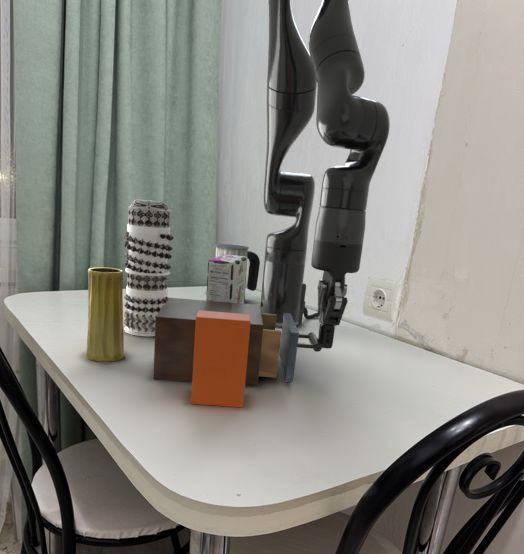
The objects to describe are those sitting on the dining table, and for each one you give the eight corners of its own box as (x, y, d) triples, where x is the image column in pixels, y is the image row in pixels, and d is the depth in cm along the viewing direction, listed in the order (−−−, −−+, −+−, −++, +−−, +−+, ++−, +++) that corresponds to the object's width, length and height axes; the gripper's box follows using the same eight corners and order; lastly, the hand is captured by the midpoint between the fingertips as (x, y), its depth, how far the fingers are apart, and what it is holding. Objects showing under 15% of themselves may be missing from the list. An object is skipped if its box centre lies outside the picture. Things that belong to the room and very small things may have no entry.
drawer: (309, 358, 90) (315, 315, 88) (321, 384, 77) (327, 335, 75) (204, 349, 89) (206, 306, 87) (197, 375, 76) (200, 325, 74)
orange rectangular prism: (242, 396, 72) (250, 314, 68) (243, 407, 68) (250, 321, 65) (193, 393, 71) (198, 310, 68) (190, 404, 68) (195, 316, 64)
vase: (131, 355, 85) (133, 270, 81) (110, 364, 80) (110, 274, 76) (101, 348, 87) (101, 265, 83) (77, 357, 81) (76, 269, 77)
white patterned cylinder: (158, 323, 107) (163, 201, 100) (177, 335, 100) (183, 203, 93) (116, 326, 102) (117, 197, 95) (132, 338, 95) (134, 199, 88)
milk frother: (231, 305, 132) (236, 248, 128) (185, 295, 140) (188, 241, 135) (261, 300, 143) (266, 247, 139) (217, 290, 151) (220, 240, 147)
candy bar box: (218, 335, 103) (224, 253, 98) (242, 338, 102) (249, 256, 97) (201, 349, 92) (207, 258, 88) (228, 353, 91) (235, 261, 87)
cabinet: (255, 357, 90) (260, 304, 87) (257, 386, 76) (263, 325, 74) (167, 351, 89) (169, 297, 86) (153, 379, 75) (155, 316, 73)
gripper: (308, 234, 84) (297, 334, 89) (321, 240, 71) (307, 357, 76) (353, 238, 84) (339, 338, 89) (373, 245, 72) (356, 361, 76)
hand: (324, 346), depth 83 cm, fingers closed
